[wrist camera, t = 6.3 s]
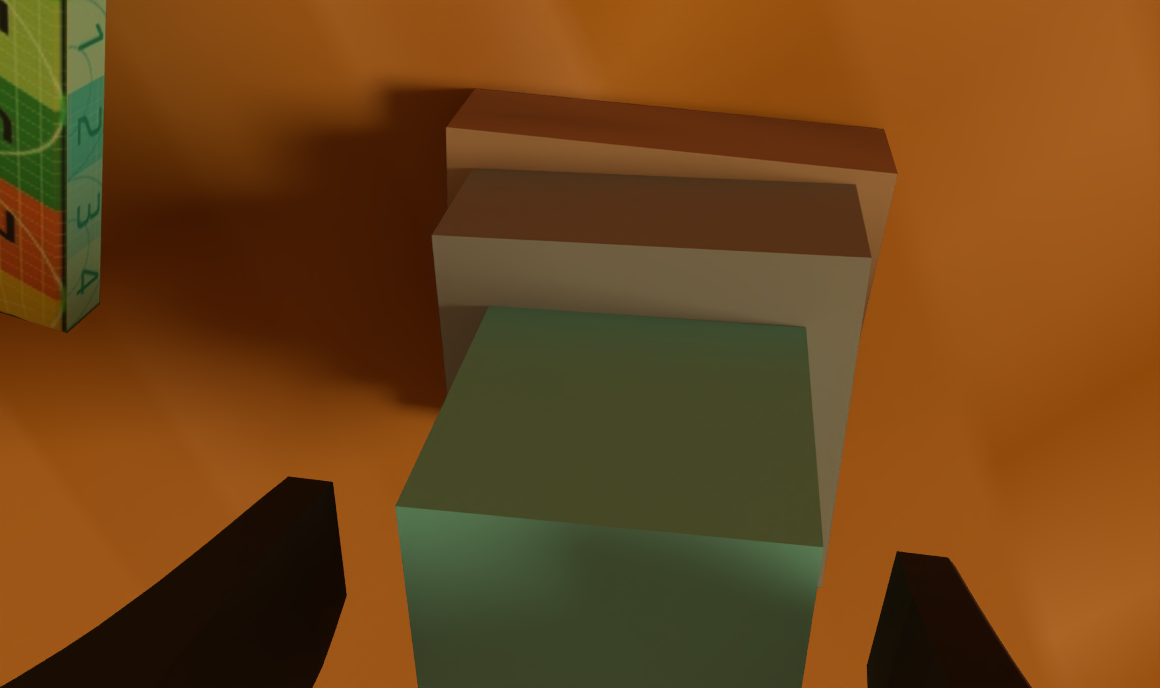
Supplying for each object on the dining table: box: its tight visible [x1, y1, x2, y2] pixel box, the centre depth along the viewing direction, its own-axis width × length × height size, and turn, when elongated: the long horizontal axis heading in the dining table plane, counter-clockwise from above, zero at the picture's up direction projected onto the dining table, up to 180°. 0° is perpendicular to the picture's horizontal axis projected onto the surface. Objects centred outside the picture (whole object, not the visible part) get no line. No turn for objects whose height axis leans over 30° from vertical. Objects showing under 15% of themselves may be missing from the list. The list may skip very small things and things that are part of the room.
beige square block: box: [432, 168, 872, 588], centre depth 17 cm, size 6×6×2 cm
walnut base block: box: [446, 88, 898, 334], centre depth 19 cm, size 7×7×2 cm
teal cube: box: [395, 306, 823, 688], centre depth 14 cm, size 4×4×4 cm
